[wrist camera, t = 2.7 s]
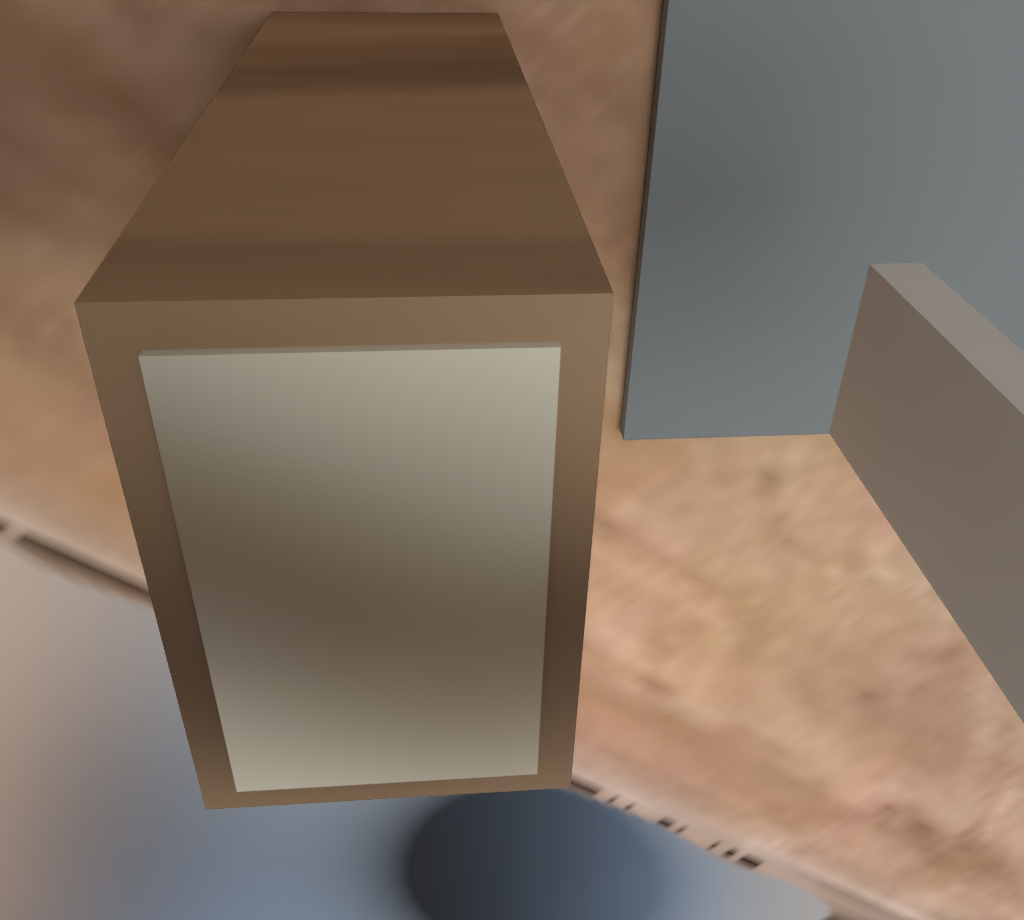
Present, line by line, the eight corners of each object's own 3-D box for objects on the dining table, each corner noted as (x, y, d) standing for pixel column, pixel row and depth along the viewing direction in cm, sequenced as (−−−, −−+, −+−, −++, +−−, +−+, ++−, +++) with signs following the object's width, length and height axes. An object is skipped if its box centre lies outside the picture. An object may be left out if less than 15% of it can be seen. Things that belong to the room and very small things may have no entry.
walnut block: (272, 11, 17) (69, 307, 7) (498, 12, 17) (616, 299, 7) (306, 320, 20) (204, 817, 10) (494, 316, 21) (572, 795, 11)
